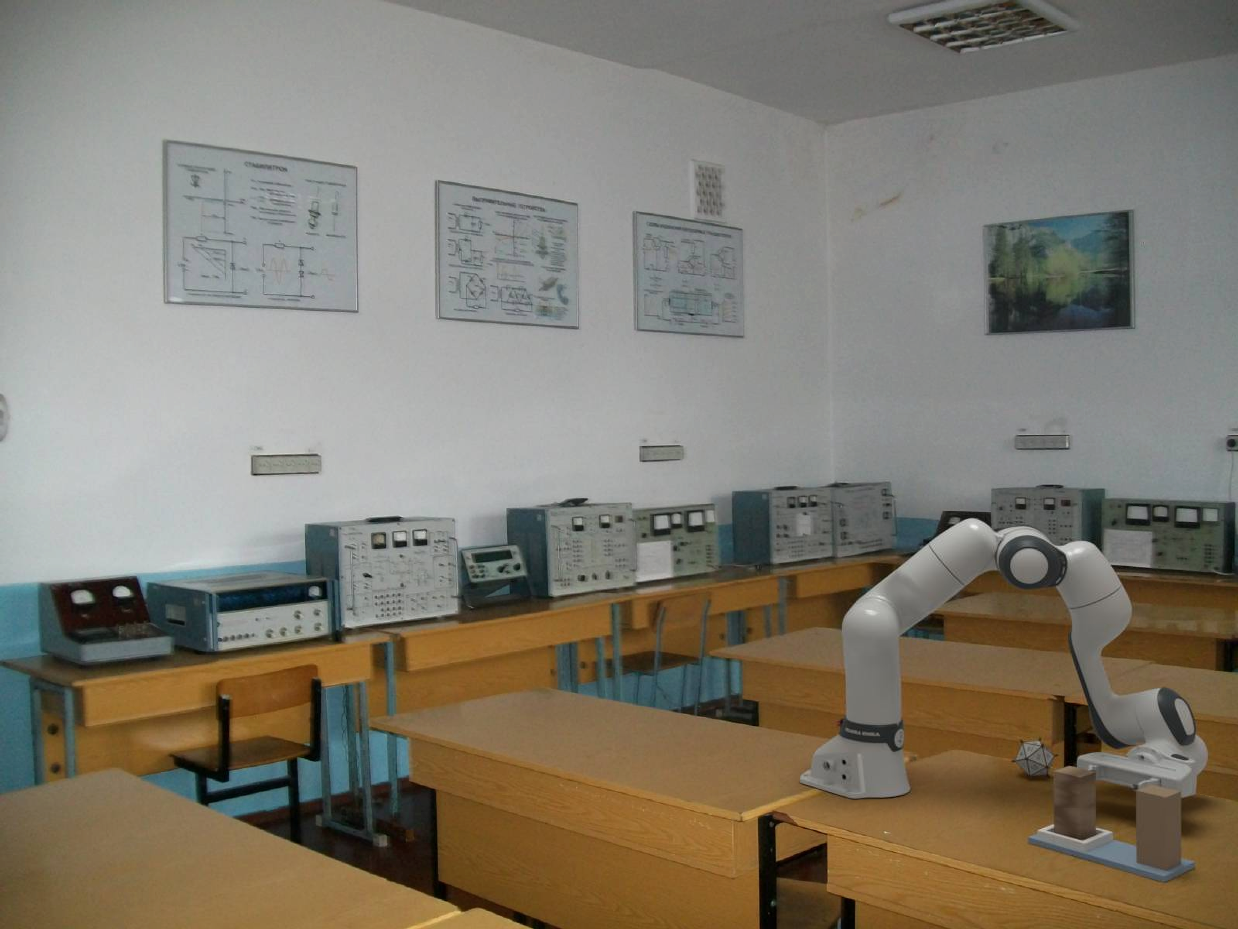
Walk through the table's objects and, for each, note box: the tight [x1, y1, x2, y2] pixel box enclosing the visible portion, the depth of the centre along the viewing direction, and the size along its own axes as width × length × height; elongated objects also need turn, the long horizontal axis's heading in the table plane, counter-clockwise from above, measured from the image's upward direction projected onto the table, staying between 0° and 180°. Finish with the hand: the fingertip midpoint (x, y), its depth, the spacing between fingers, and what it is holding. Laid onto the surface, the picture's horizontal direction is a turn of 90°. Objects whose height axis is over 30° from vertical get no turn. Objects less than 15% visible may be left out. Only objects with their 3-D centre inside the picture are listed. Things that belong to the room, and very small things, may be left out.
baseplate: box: [1027, 785, 1196, 883], centre depth 204 cm, size 24×10×13 cm, turn 38°
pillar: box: [1053, 765, 1097, 841], centre depth 209 cm, size 5×5×12 cm
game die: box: [1010, 736, 1060, 781], centre depth 250 cm, size 9×8×10 cm
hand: (1111, 782), depth 216 cm, fingers open, 8 cm apart
